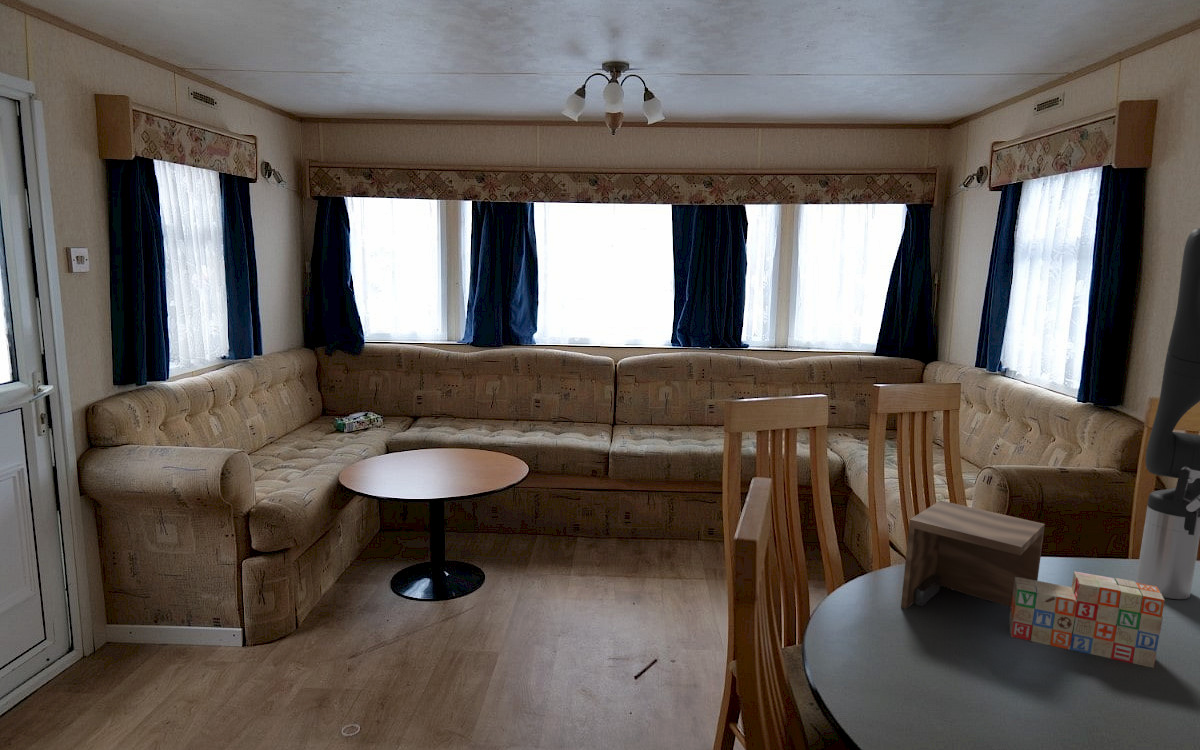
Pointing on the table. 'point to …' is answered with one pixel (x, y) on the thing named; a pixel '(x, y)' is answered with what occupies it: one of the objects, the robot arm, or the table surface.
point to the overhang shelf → (971, 551)
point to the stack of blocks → (1090, 616)
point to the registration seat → (927, 590)
